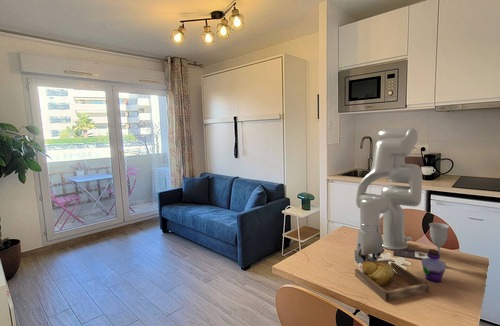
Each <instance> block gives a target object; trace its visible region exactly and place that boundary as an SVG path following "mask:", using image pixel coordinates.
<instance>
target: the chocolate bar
mask: <svg viewBox="0 0 500 326" xmlns="http://www.w3.org/2000/svg"><path fill="white" fill-rule="evenodd" d="M427 252H428V251H422V250H416V249H409V248H407V249H404V250H393V255H392V256H394V257H397V258H398V257H399V258H405V259H413V260H418V261H419V260H420V261H422V260H421V259H423V258H429V257H428V256H427Z"/></svg>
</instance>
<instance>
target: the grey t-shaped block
mask: <svg viewBox="0 0 500 326" xmlns="http://www.w3.org/2000/svg"><path fill="white" fill-rule="evenodd" d="M356 252H357V249H354V262H356V263H357V264H359V263H361V264H363V259H362V258H361V257H359V256H357V255H356ZM361 254H362V252H361ZM368 261H369V262H372V263H373V262H376V261H383V262H386V263H388V264H389V259H387V258H386V259H380V260H379V259H378V260H376V259H374V258H373V257H372V255H371V254H369V257H368ZM361 272H362V273H364V272H363V268H362V267H361ZM364 274H365V273H364ZM365 275H366V274H365Z"/></svg>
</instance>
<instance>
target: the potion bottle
mask: <svg viewBox="0 0 500 326" xmlns="http://www.w3.org/2000/svg"><path fill="white" fill-rule="evenodd" d="M426 252H427V256H428V257H429V258H423V259H421V260H420V261H421V265H422V271H423V273H424V275H425V276H424V279H425V280H426V281H429V282H430V283H435V284H438V283H442V279H443V276H444V274H445V271H446V269H447V263H446V262H445V261H443V260H442V259H441V253H439V251H438V250H437V249H434V248H430V249H429V248H428V251H426ZM439 258H440V260H439ZM441 260H442V261H441Z"/></svg>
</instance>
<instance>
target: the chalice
mask: <svg viewBox="0 0 500 326" xmlns="http://www.w3.org/2000/svg"><path fill="white" fill-rule="evenodd" d="M428 225H429V236H430V239H431V241H432V243H433V245H435V247H436V250H438V251H439V253H440V252H441V249H440V248H441V247H443V246H444V245H445V244H446V242H447V240H448V234H449V233H448V231H449V230H448V229H449V228H450V225H448V224H446V223H441V222H430V223H428ZM440 254H441V253H440ZM439 260H441V261H443V260H442V259H441V257H440V258H439Z"/></svg>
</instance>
